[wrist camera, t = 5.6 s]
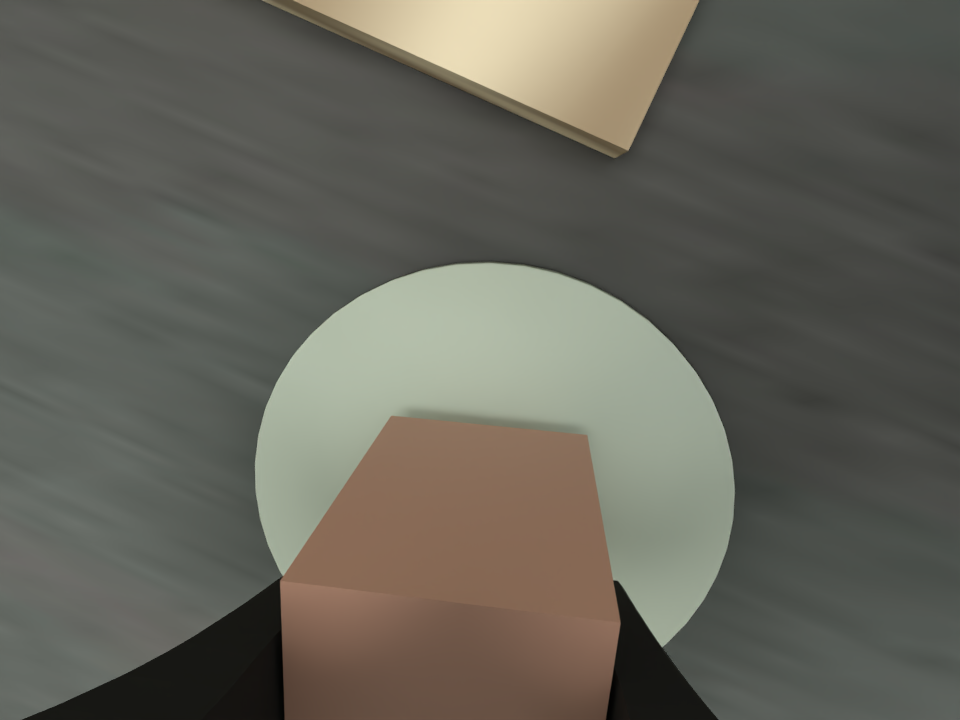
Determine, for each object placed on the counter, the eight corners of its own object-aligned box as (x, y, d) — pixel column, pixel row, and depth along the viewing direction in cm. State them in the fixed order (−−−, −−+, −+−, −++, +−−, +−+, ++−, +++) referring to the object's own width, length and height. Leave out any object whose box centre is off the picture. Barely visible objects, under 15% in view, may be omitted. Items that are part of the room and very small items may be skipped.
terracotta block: (587, 434, 13) (620, 622, 8) (566, 603, 14) (581, 876, 9) (390, 415, 14) (280, 581, 8) (386, 582, 15) (288, 829, 9)
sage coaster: (823, 387, 14) (834, 395, 14) (595, 746, 17) (597, 765, 17) (352, 178, 14) (344, 177, 13) (213, 580, 17) (201, 594, 17)
